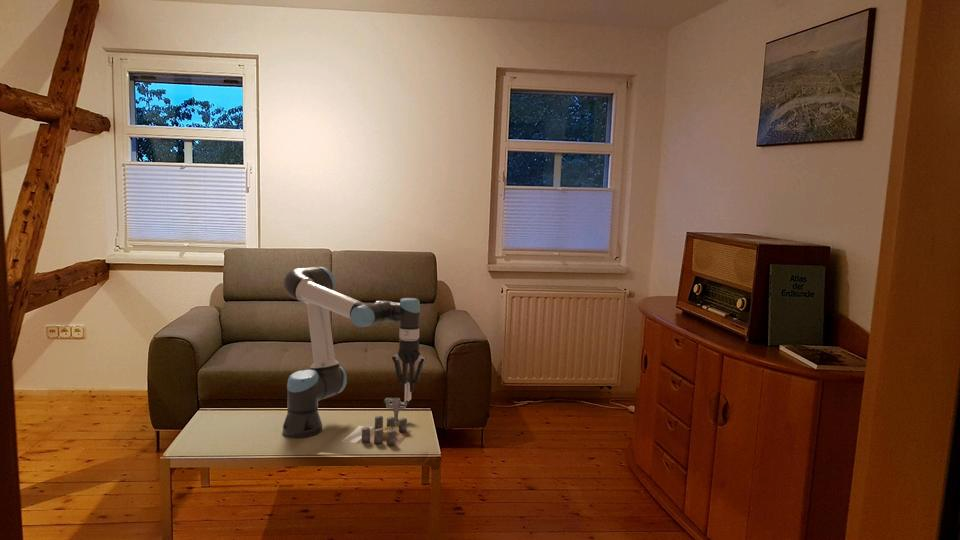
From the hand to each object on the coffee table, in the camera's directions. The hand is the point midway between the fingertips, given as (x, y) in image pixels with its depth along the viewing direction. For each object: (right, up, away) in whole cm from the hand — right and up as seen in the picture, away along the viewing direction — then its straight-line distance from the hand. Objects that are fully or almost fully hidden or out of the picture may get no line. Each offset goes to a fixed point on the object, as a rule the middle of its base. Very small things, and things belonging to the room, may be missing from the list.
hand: (407, 399), depth 233 cm
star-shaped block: (-8, -15, +3) cm, 17 cm away
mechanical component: (-8, -14, +23) cm, 28 cm away
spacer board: (-12, -16, +4) cm, 20 cm away
